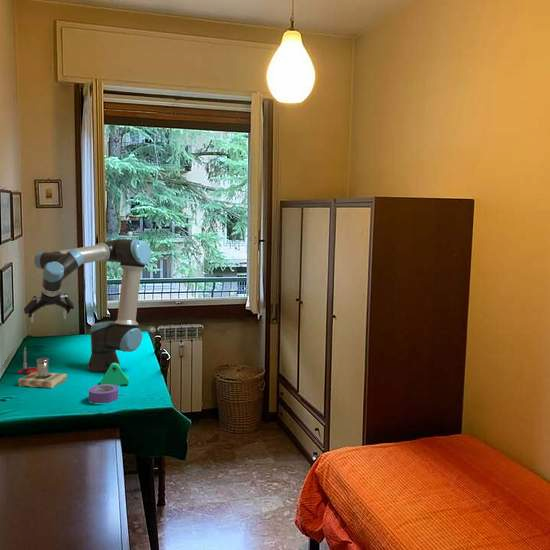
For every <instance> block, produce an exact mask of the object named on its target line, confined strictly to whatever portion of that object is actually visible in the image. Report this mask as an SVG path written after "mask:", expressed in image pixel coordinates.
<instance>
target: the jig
mask: <svg viewBox="0 0 550 550" xmlns="http://www.w3.org/2000/svg"><path fill="white" fill-rule="evenodd" d="M48 376H49V377H48V378H46V379H38V372H34V373H31V374H26V375H25V376H23V377H21V378H19V379H18V387H24V386H29V387H28V388H37V387H45V388H44V389H49V388H52V389H54V388H55V386H56V387H57V386H59V385H61V384H63V383H65V382H67V381H66V380H67V378H68V375H67V373H58V372H48ZM64 381H65V382H64ZM62 382H63V383H62ZM53 387H54V388H53Z"/></svg>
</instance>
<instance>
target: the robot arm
mask: <svg viewBox="0 0 550 550" xmlns="http://www.w3.org/2000/svg"><path fill="white" fill-rule="evenodd" d="M151 258H152V250H151V248H150V246H149V244H148V243H147V242H146V241H145V240H142V239H141V240H140V239H133V238H132V239H129V238H128V239H126V238H125V239H124V238H117V239H112V240H106V241H102V242H97V244H96V245H89V246H83V247H76V248H69V249H61V250H56V251H50V252H49V251H48V252H46V251H41V252H38V253H36V254H35V256H34V258H33V259H34V260H33V262H34V266H35V267H36V268H37V269H39V270H43V271H42V285H41V293H40V295H41V296H40V297H37V296H36V295H35V296H33V297H32V299H31V300H30V301H29V302H28V304H27V305H26V306H25V307H23V312H24V314H25V315H27V314H28V318H30V322H31V324H32V323H34V319H35V312H37V311H38V310H40V309H41V308H44V307H46V306H54V305H56V306H57V307H58V306H59V307H60V308H63V313H62V314H63V320H66V318H67V314H70V311H71V310H74V309H75V307H74V303H73V302H72V300H71V299H70V298H69V297H68V294H67V293H64V294H63V295H62V292H61V291H62V285H63V281H64V280H65V279H66V278H67V277H68V276H70V274H71V275H72V273H74V271H76V270H77V269H78V268H79V267H80V266H81V265H82V264H83V265H84V264H88V263H94V262H102V263H106V262H109V263H110V262H114V263H119V267H120V269H122V272H121V273H122V275H121V285H120V292H119V303H118V304H119V305H118V313H117V319H116V320H115V321H113V320H108V321H99V322H96V323H93V324H91V327H90V346H91V351H90V352H91V353H90V354H91V355H90V357H89V361H88V363H87V370H88V371H89V372H93V373H94V372H95V373H106V372H107V370H108V369H109V367H110V365H111V364H112V363H118V364H119V366H120V367H121V365H120V364H121V363H120V360H119V356H118V354H117V351H120V352H124V353H125V352H126V353H127V352H128V353H131V352H134V351H136V350H137V349H138V348H139V347H140V346H141V344H142V341H143V333H142V331H141V329H140V328H139V323H138V322H137V313H138V312H137V310H138V303H139V302H138V301H139V292H140V286H141V274H142V271H143V270H145V268H146V267H145V266H146V265H148V264H149V263H150V261H151ZM112 369H113V370H116V367H113V368H112Z"/></svg>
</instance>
